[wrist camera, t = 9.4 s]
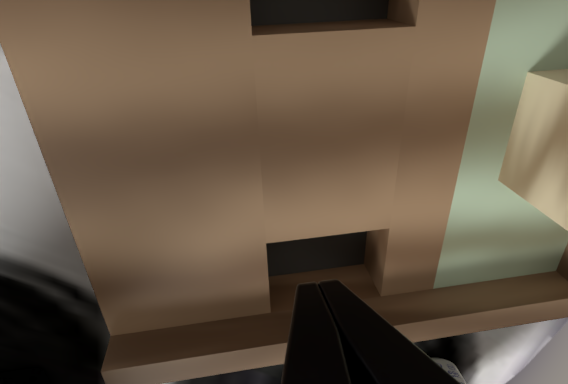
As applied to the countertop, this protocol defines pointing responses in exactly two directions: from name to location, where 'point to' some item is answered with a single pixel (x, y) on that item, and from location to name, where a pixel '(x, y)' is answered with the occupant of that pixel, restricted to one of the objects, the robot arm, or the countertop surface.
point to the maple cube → (540, 145)
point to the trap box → (288, 165)
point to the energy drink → (450, 369)
